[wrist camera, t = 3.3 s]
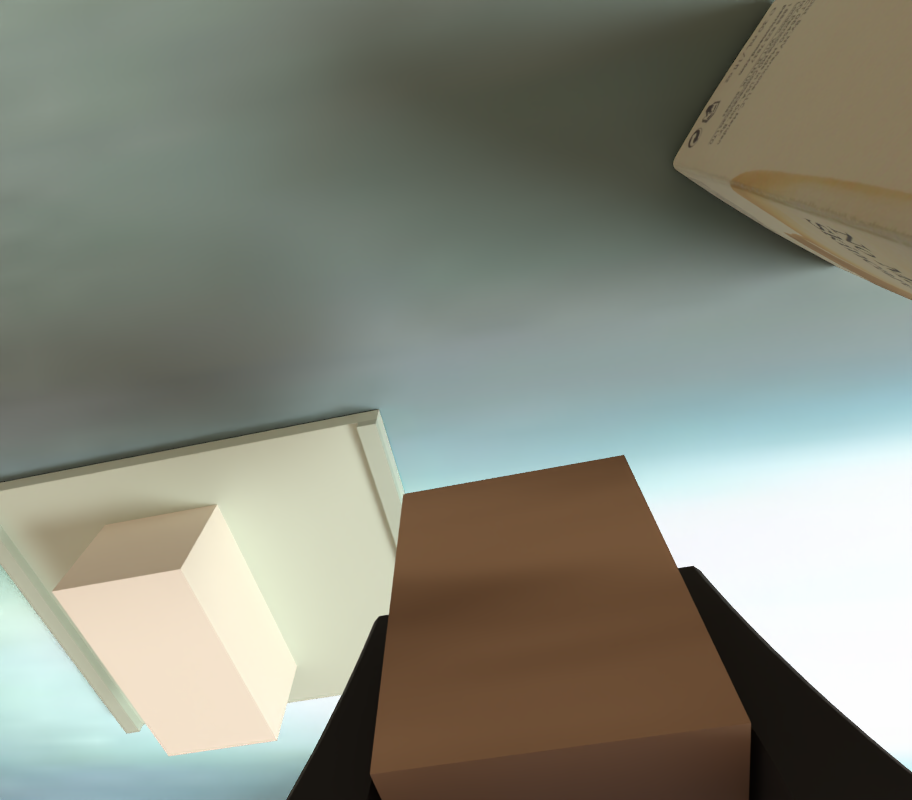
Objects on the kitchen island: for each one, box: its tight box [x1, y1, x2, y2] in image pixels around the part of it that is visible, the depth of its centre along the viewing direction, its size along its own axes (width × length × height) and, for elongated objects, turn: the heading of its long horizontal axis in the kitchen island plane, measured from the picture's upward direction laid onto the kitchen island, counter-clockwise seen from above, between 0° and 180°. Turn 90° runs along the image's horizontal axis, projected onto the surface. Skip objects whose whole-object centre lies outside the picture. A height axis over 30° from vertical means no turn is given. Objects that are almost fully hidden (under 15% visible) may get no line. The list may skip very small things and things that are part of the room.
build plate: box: [0, 410, 405, 733], centre depth 22 cm, size 12×14×1 cm
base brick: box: [52, 504, 297, 756], centre depth 20 cm, size 8×4×3 cm, turn 12°
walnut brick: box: [370, 455, 751, 800], centre depth 9 cm, size 4×4×5 cm
